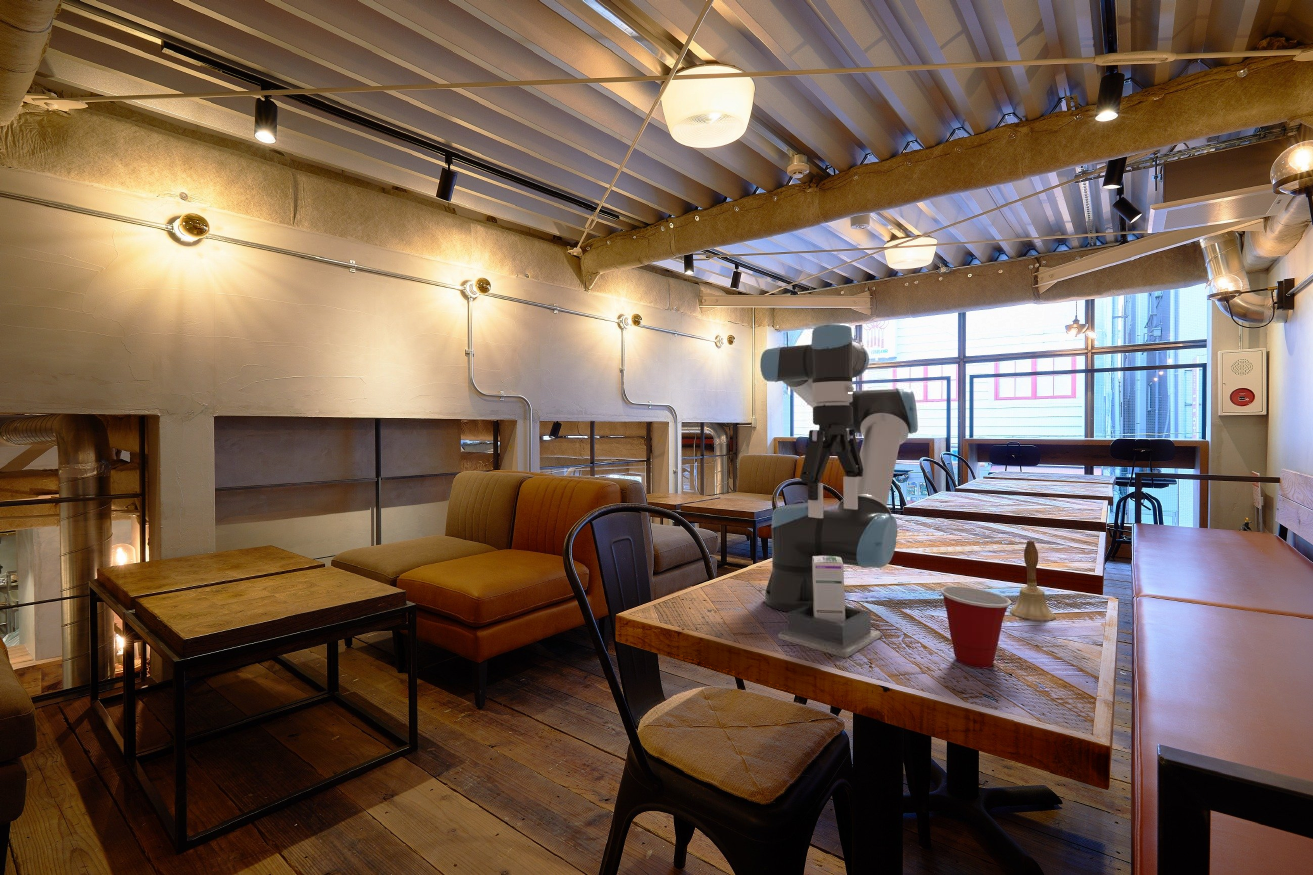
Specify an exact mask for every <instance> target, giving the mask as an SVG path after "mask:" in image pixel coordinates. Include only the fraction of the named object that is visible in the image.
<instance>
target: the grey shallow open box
mask: <svg viewBox="0 0 1313 875" xmlns="http://www.w3.org/2000/svg"><path fill="white" fill-rule="evenodd" d="M871 615H872V613H871V611H869V610H864V609H861V608H855V607H852V606H851V607H850V606H846V605H845V621H843V622H841V623H836V622H832V621H828V620H824V619H820V618H816V617H814V608H813V602H812V603H809V604H807V605H805V606H802V607H800V608H798V609H796V610H793V611H791V612H787V629H785V630H783V631H781V632H779V633H778V639H780V640H782V641H786V642H789V643H793V644H795V645H796V644H797V645H799V646H800V645H801V646H803V647H805V648H811V649H813V650H817V651H821V652H823V653H828V654H830V655H835V656H838V657H842V658H844V659H845V658H846V659H847V658H849V657H850V656H852V655H854V654H855V653H856V652H859V651H860V650H862V649H863V648H865V647H867V646H868V645H870V644H871V643H873V642H875V641H877V640H878V639H880V638H881V631H877V630H874V629H871V628H872V622H871V621H872V620H871V619H872V616H871Z"/></svg>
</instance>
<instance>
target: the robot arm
mask: <svg viewBox="0 0 1313 875" xmlns="http://www.w3.org/2000/svg"><path fill="white" fill-rule="evenodd" d="M811 334H812V335H811V344H800V345H789V346H778V347H772V348H767V349H765V350H764V351H763V352H762V353H761V356H760V363H759V364H760V367H759V368H760V373H761V376H762V378H763V379H764V380H765V381H766V382H772V383H773V382H774V383H778V382H783V383H784V385H786V386H787V387H788V388H789V389H790V390H792V391H793V392H794V393H795V394H796V395H797V396H798V397H800V398H801V399H802V400H803V401H804V402H805V403H807V405H809V406H810V408H812V424H813V425H815V426H818V429H810V430H809V432H808V443H807V447H806V450H805V455H804V458H803V463H802V467H801V471H800V475H799V478H800V480H801V482H802V483H807V499H808V500H807V502H803V503H794V504H793V503H792V504H786V505H782V506H779V507H776V508H775V509H774V510H773V511H772V516H771V526H770V528H771V556H772V558H771V560H772V563H771V564H772V566H771V567H772V569H771V573H770V576H769V579H768V582H767V586H766V589H765V592H764V601H765V602H764V603H765V604H766V605H767V606H768V607H770V608H772V609H775V610H777V611H781V612H786V613H789V612H791V611H793V610H796V609H798V608H800V607H802V606H805V605H807V604H809V603H812V602H813V562H812V557H813V556H837V557H841V559H842V562H843V564H844V565H845V566H853V567H856V566H857V567H861V568H864V569H866V568H868V569H869V568H874V569H875V568H876V569H881V568H884V567H886V566H888V564H889V563H890V562H891V560H892V559H893V556H894V553H895V549H896V548H897V547H896V546H897V537H898V523H897V520H896V517H895V516H894V515H892V512H891V510H890V509H889V507H888V501H889V497H890V494H891V493H890V492H891V488H892V482H893V478H894V473H895V468H896V463H897V460H898V452H899V451H900V450H899V449H900V446H901V445H902V444H904V443H905V442H906V441H907V439H908V437H909V434H910V435H912V434H915V433H917V432H918V430H919V424H918V423H919V422H918V421H919V420H918V410H917V403H916V397H915V393H914V392H913V391H912V389H910V388H899V387H896V388H893V389H892V388H891V389H889V388H888V389H867V390H864V389H863V390H855V388H854V386H853V378H858V377H859V376H862V375H863V374H864V373H865V372H866V370H867V369H868V366H869V363H870V356H869V353H868V350H867V349H866V348H865V346H862V344H860V343H858V342H857V341H856V342H855V341H854V337H853V331H852V327H851V326H850V325H849V324H847V323H829V324H828V323H826V324H822V325H817V326H815V327H814V328H813V329H812V332H811ZM856 434H861V435H862V437H863V440H862V444H861V447H860V451H859V447H858V446H859V445H858V443H857V437H856V436H857V435H856ZM834 454H835V455H836V457H837V458H838V461H839V462H840V465H841V467H842V470H843V472H844V474H845V475H846V476H843V478H842V480H843V483H842V484H843V489H842V491H843V499H841V500H840V502H839V504H838V506H837V510H826V509H825V507H824V483H822V482H821V480H822V477H823V475H824V473H825V470H826V468H827V465H828V463H829V460H830V457H831V456H833V455H834Z"/></svg>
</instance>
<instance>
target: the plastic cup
mask: <svg viewBox="0 0 1313 875" xmlns="http://www.w3.org/2000/svg"><path fill="white" fill-rule="evenodd" d="M940 593H941V596H942V598H943V602H944V606H945V611H946V617H947V623H948V629H949V630H948V631H949V635H950V636H949V637H950V640H951V642H952V643H951V644H952V648H953V654H954V658H955V660H956V661H957V662H958V663H959V664H961V665H964V666H965V667H966V666H967V667H971V668H978V669H987V668H991V667H992V666H993V665H994V662H995V659H996V652H997V647H998V646H999V641H1000V636H1001V631H1002V626H1003V623H1004V622H1003V620H1004V618H1005V614H1006V612H1007V610H1008V608H1009V607H1010V606H1011V604H1012V601H1011V600H1010V599H1009V598H1008V597H1006V596H1005V595H1001V594H999V593H995V592H993V591H988V590H984V589H979V588H974V587H967V586H959V585H958V586H954V585H949V586H943V587H941V588H940Z"/></svg>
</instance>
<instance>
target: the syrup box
mask: <svg viewBox="0 0 1313 875" xmlns="http://www.w3.org/2000/svg"><path fill="white" fill-rule="evenodd" d="M812 562H813V608H814V617H816V618H820V619H824V620H828V621H832V622H836V623H841V622H843V621H845V606H846V601H845V599H846V598H845V596H846V595H845V594H846V593H845V572H844V571H845V570H844V568H845V567H844V564H843V562H842V559H841V557H837V556H813V557H812Z"/></svg>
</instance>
